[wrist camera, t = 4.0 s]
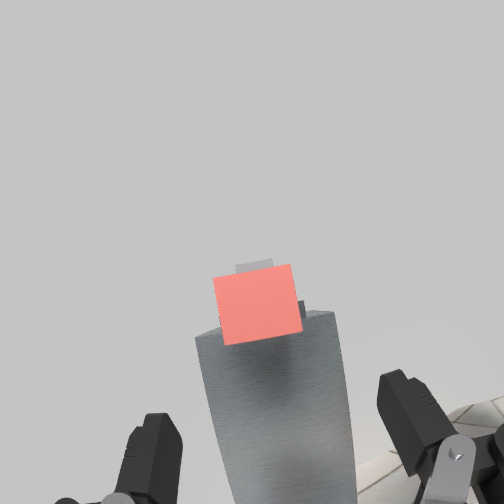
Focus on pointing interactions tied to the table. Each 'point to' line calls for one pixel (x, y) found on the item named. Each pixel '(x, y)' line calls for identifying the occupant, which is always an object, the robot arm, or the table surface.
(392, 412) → the robot arm
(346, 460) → the box
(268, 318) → the lever
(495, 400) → the table surface
